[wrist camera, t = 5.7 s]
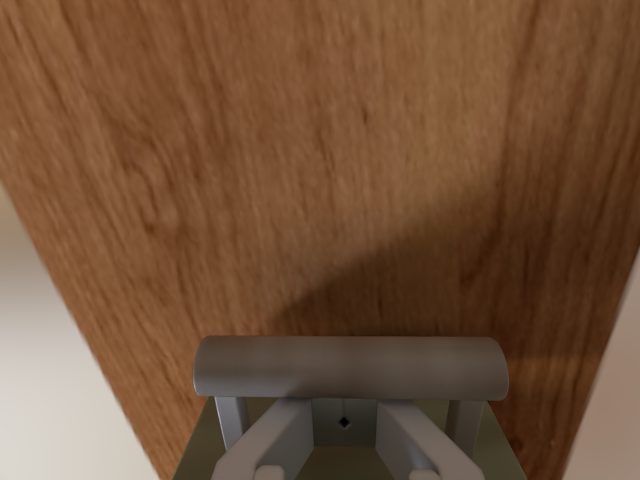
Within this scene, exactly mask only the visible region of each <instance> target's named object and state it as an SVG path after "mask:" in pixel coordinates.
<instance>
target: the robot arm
mask: <svg viewBox="0 0 640 480" xmlns="http://www.w3.org/2000/svg"><path fill="white" fill-rule="evenodd" d="M344 444H345V446H354V447H372V448H375V450H376V451H377V453H378V454H379V456H380V457H381V459H382V460H383V462H384V463H385V465H386V467H387V468H388V470H389V471H390V473H391V474H392V476H393V477H394V479H395V480H485V477H484V475H483V472H482V470H481V469H480V468H479V467H478V466H477V465H476V464H475V463H474V462H473V461H472V460H471V459H470V458H469V457H468V456H467V455H466V454H465V453H464V452H463V451H462V450H461V449H460V448H459V447H458V446H457V445H456V444H455V443H454V442H453V441H452V440H451V439H450V438H449V437H448V436H447V435H446V434H445V433H444V432H443V431H442V430H441V429H439V428H438V427H437V426H436V425H435V424H434V423H433V422H432V421H431V420H430V419H429V418H428V417H427V416H426V415H425V414H424V413H423V412H422V411H421V410H420V409H419V408H418V407H417V406H416V405H415V404H414V403H413V402H412V401H411V400H410V399H352V398H290V397H280V398H279V399H278V400H277V401H276V402H275V403H274V404H273V405H272V406H271V407H270V408H269V409H268V410H267V411H266V412H265V413H264V414H263V415H262V416H261V417H260V418H259V419H258V420H257V421H256V422H255V423H254V424H253V425H252V426H251V427H250V428H249V430H248V431H247V432H246V433H245V434H244V435H243V436H242V437H241V438H240V439H239V440H238V441H237V442H236V443H235V444H234V445H233V446H232V447H231V448H230V449H229V450H228V451H227V452H226V453H225V454H224V455H223V456H222V457H221V458H220V459H219V460H218V461H217V463H216V466H215V469H214V472H213V475H212V478H211V480H295V478H296V476H297V475H298V473H299V472H300V470H301V468H302V467H303V465H304V464H305V462H306V460H307V459H308V457H309V456H310V454H311V452H312V451H313V449H314V446H344Z"/></svg>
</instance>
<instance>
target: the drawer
mask: <svg viewBox="0 0 640 480" xmlns="http://www.w3.org/2000/svg"><path fill="white" fill-rule="evenodd" d="M193 382H194V388H195V391H196V392H197V394H198V395H200V396H209V397H208V399H207V401H206V404H205V406H204V408H203V410H202V412H201V415H200V417H199V419H198V421H197V424H196V426H195V428H194V430H193V433H192V435H191V437H190V439H189V442H188V444H187V446H186V448H185V451H184V453H183V455H182V457H181V460H180V462H179V464H178V466H177V469H176V471H175V473H174V475H173V478H172V480H211V478H212V475H213V472H214V469H215V466H216V463H217V461H218V460H219V459H220V458H221V457H222V456H223V455H224V454H225V453H226V452H227V451H228V450H229V449H230V448H231V447H232V446H233V445H234V444H235V443H236V442H237V441H238V440H239V439H240V438H241V437H242V436H243V435H244V434H245V433H246V432H247V431H248V430H249V428H250V427H251V426H252V425H253V424H254V423H255V422H256V421H257V420H258V419H259V418H260V417H261V416H262V415H263V414H264V413H265V412H266V411H267V410H268V409H269V408H270V407H271V406H272V405H273V404H274V403H275V402H276V401H277V400H278V399H279V398H280V397H290V398H352V399H410V400H411V401H412V402H413V403H414V404H415V405H416V406H417V407H418V408H419V409H420V410H421V411H422V412H423V413H424V414H425V415H426V416H427V417H428V418H429V419H430V420H431V421H432V422H433V423H434V424H435V425H436V426H437V427H438V428H439V429H441V430H442V431H443V432H444V433H445V434H446V435H447V436H448V437H449V438H450V439H451V440H452V441H453V442H454V443H455V444H456V445H457V446H458V447H459V448H460V449H461V450H462V451H463V452H464V453H465V454H466V455H467V456H468V457H469V458H470V459H471V460H472V461H473V462H474V463H475V464H476V465H477V466H478V467H479V468H480V469H481V470H482V472H483V475H484V477H485V480H528V479H527V477H526V476H525V474H524V472H523V470H522V468H521V466H520V464H519V462H518V460H517V458H516V456H515V454H514V452H513V450H512V448H511V446H510V444H509V442H508V440H507V438H506V436H505V435H504V433H503V431H502V429H501V427H500V425H499V423H498V421H497V419H496V417H495V415H494V413H493V411H492V409H491V407H490V405H489V403H488V401H501V400H503V399H504V398H505V397H506V395H507V393H508V389H509V373H508V367H507V363H506V359H505V356H504V354H503V351H502V349H501V347H500V346H499V344H498V343H497V342H496V341H495V340H494V339H492V338H490V337H411V336H207V337H205V338H204V339H203V340H202V342H201V343H200V345H199V348H198V350H197V353H196V357H195V361H194V368H193ZM295 480H395V479H394V477H393V476H392V474H391V473H390V471H389V470H388V468H387V467H386V465H385V463H384V462H383V460H382V459H381V457H380V456H379V454H378V453H377V451H376V450H375V448H372V447H354V446H345V444H344V446H314V449H313V451H312V452H311V454H310V456H309V457H308V459H307V460H306V462H305V464H304V465H303V467H302V468H301V470H300V472H299V473H298V475H297V476H296V478H295Z"/></svg>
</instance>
